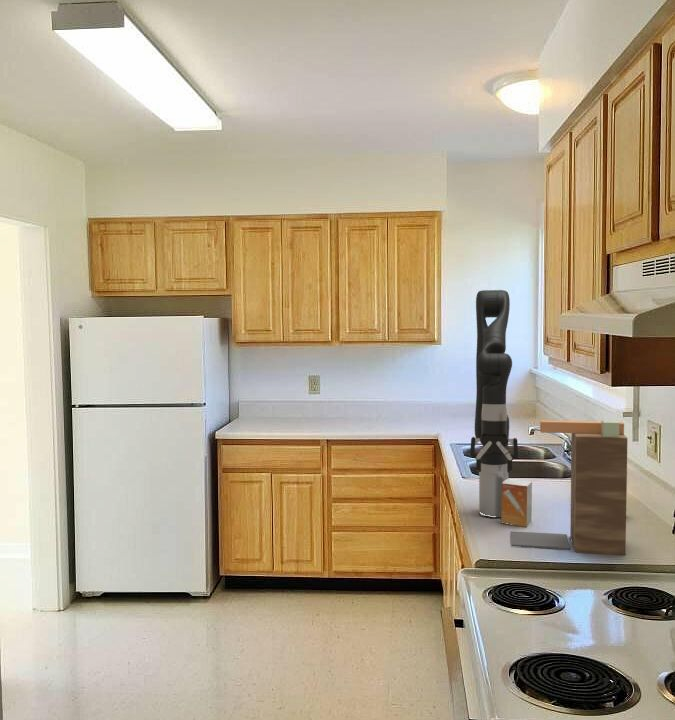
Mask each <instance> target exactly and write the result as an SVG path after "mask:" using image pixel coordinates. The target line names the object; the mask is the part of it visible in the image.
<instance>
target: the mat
mask: <svg viewBox="0 0 675 720" xmlns="http://www.w3.org/2000/svg"><path fill="white" fill-rule="evenodd" d="M510 546H521V547H520V548H527V547H534V548H533V549H544V548H545V549H549V550H565V551H571V550H572V548H571V547H572V546H571V544H570V540H569V537H568V534H567V533H553V532H552V533H549V532H533V531H532V532H531V531H516V530H513V531H512V530H511V531H510Z"/></svg>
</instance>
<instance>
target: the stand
mask: <svg viewBox="0 0 675 720" xmlns="http://www.w3.org/2000/svg"><path fill="white" fill-rule="evenodd" d="M570 434H571V440H570V442H571V444H570V447H571V451H570V453H571V454H570V525H569V526H570V527H569V528H570V532H569V533H570V540H572V541H571V544H572V547H573V550H574V552H575V553H585V554H586V553H587V554H602V555H618V556H619V555H621V556H626V553H627V552H626V550H627V549H626V548H627V547H626V543H627V541H626V539H627V534H626V533H627V511H626V508H627V497H628V495H627V492H628V491H627V490H628V488H627V487H628V437H627V436H626V435H625V433H624V434H619V438H613V437H603V436H602V435H601V434H583V433H570Z"/></svg>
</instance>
